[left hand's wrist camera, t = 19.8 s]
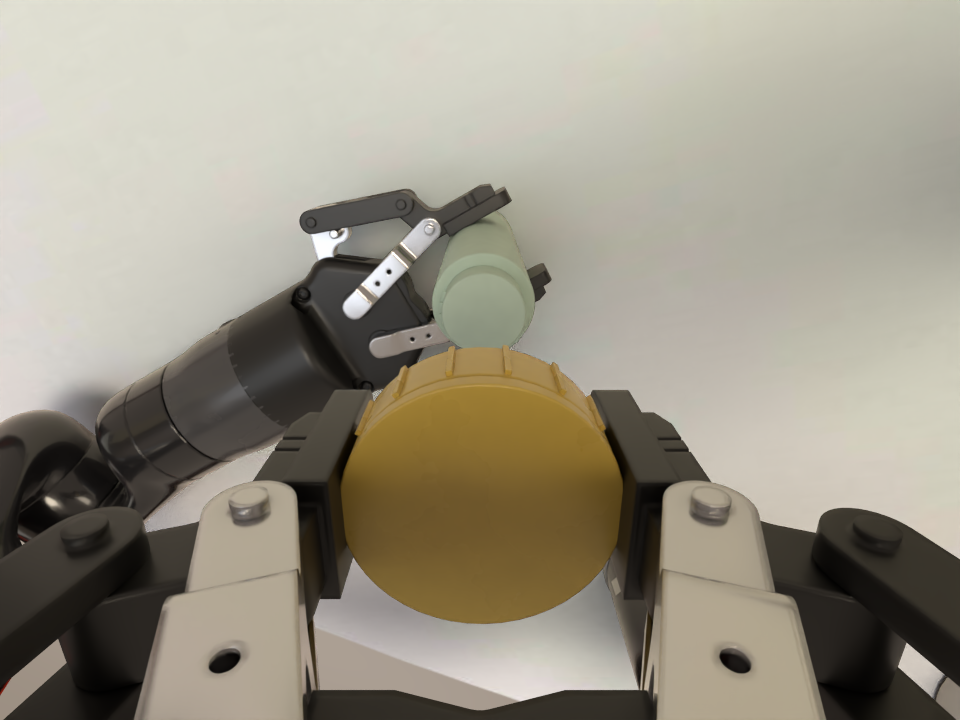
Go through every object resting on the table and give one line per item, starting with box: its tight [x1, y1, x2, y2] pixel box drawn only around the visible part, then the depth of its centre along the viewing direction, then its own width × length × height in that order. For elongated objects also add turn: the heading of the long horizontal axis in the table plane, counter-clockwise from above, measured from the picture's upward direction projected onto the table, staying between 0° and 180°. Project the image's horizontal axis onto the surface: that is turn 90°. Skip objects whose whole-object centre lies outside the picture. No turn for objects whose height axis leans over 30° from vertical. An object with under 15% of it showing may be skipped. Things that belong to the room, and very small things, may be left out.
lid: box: [340, 345, 623, 624], centre depth 10 cm, size 5×5×2 cm
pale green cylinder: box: [432, 211, 535, 349], centre depth 29 cm, size 4×4×17 cm
